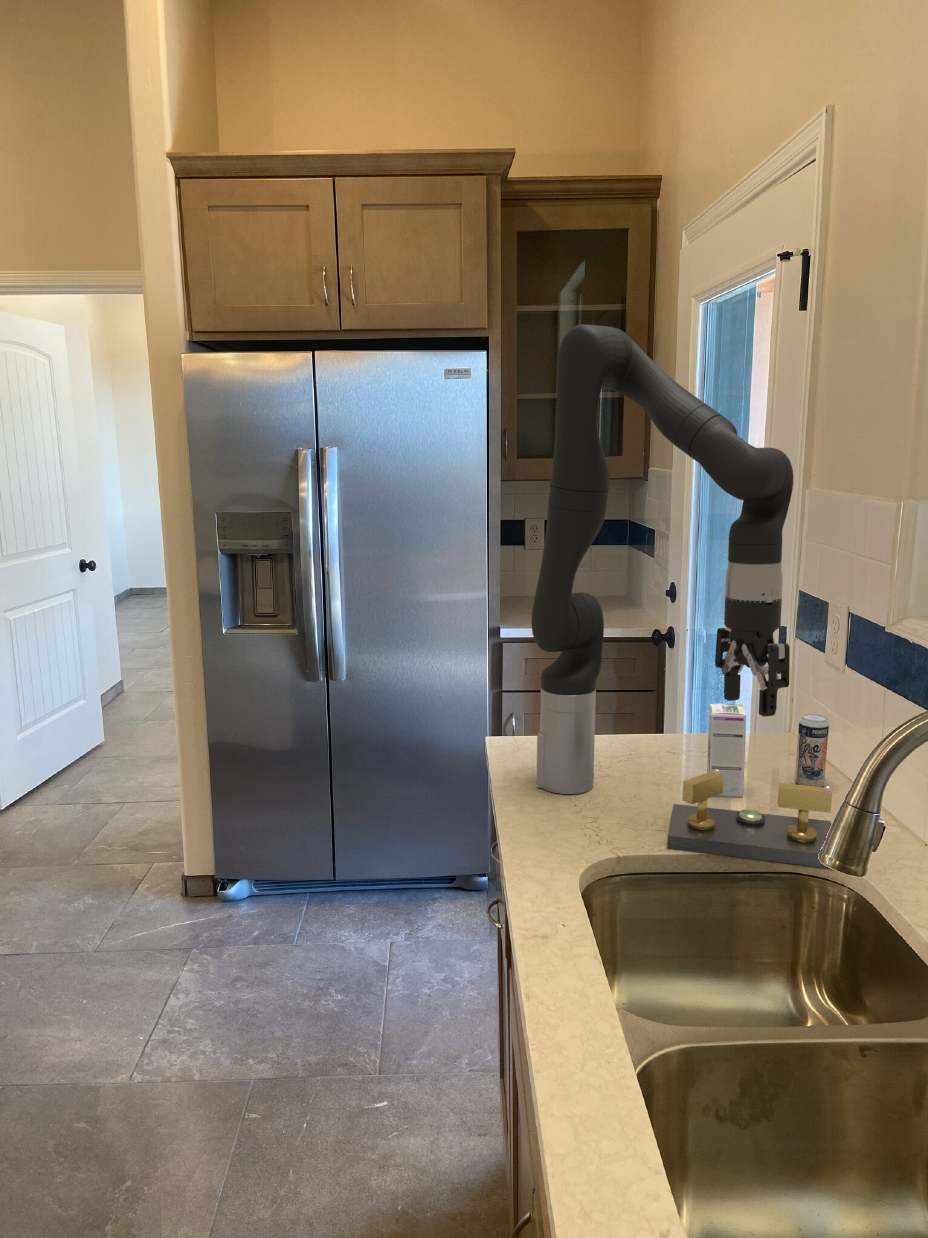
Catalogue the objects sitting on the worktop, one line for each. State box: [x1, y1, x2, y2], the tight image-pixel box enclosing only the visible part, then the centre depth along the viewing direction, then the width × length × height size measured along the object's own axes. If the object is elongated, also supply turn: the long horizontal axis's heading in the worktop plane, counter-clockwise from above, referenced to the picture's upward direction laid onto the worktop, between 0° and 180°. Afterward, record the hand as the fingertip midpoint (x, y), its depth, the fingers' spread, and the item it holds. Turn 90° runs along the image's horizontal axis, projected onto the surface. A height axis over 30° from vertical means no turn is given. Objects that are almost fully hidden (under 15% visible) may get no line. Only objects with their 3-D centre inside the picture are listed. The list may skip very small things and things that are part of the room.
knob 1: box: [681, 769, 724, 830], centre depth 132 cm, size 7×4×8 cm, turn 127°
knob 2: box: [777, 782, 833, 842], centre depth 128 cm, size 7×4×8 cm, turn 73°
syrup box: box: [706, 703, 747, 799], centre depth 150 cm, size 6×6×14 cm
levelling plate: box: [666, 803, 832, 869], centre depth 132 cm, size 23×12×3 cm, turn 73°
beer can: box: [794, 713, 830, 787], centre depth 153 cm, size 5×5×12 cm
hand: (748, 707), depth 127 cm, fingers open, 8 cm apart
